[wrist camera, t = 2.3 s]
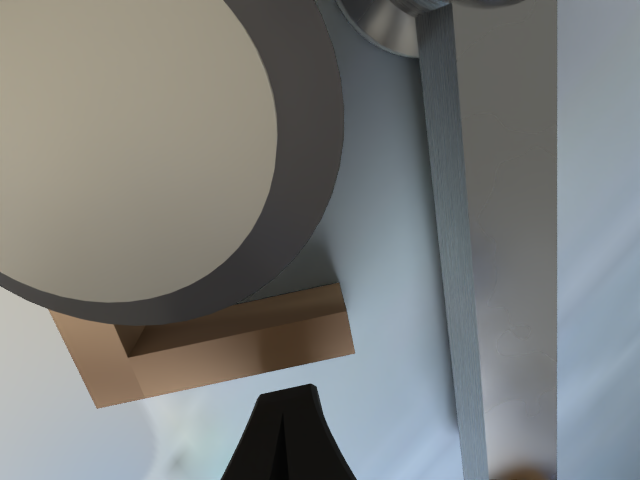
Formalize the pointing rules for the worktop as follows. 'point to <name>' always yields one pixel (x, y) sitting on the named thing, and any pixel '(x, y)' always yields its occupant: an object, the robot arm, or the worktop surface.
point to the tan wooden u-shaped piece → (207, 345)
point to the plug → (161, 151)
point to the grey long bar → (496, 221)
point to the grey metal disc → (382, 25)
